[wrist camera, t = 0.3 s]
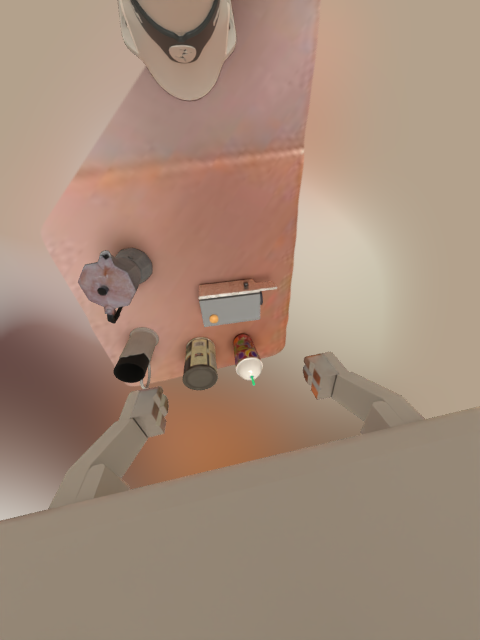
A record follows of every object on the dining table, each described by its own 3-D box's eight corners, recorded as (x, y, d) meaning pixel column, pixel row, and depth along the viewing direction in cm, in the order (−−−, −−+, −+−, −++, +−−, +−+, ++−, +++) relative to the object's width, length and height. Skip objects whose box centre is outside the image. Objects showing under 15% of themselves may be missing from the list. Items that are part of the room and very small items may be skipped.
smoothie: (238, 327, 66) (250, 370, 50) (257, 335, 70) (274, 378, 53) (226, 344, 70) (233, 390, 53) (245, 351, 73) (257, 397, 56)
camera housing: (199, 287, 57) (199, 302, 48) (256, 281, 58) (265, 294, 50) (204, 311, 61) (204, 328, 53) (256, 304, 63) (264, 320, 55)
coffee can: (196, 363, 72) (195, 394, 60) (180, 345, 67) (175, 376, 55) (220, 351, 71) (223, 381, 59) (206, 332, 65) (206, 361, 54)
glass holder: (152, 324, 61) (139, 357, 48) (167, 357, 68) (159, 392, 56) (124, 330, 60) (103, 365, 48) (143, 362, 68) (129, 399, 55)
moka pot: (153, 238, 48) (126, 259, 31) (156, 294, 56) (136, 335, 39) (110, 232, 46) (57, 251, 29) (120, 291, 54) (82, 333, 37)
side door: (198, 281, 55) (197, 293, 48) (269, 273, 57) (278, 283, 50) (199, 287, 56) (199, 299, 49) (269, 279, 58) (277, 290, 51)
